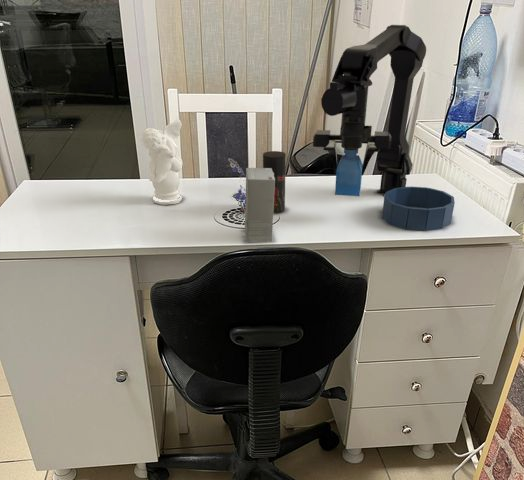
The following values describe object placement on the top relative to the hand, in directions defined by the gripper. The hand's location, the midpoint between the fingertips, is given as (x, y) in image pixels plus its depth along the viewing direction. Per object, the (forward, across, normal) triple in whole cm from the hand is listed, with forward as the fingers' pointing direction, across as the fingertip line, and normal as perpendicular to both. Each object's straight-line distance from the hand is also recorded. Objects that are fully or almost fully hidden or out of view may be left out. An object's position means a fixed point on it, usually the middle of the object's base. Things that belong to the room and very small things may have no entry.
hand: (349, 174), depth 138 cm
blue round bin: (+12, +18, +2) cm, 22 cm away
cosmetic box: (+12, -21, -15) cm, 28 cm away
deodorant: (+12, -20, +4) cm, 23 cm away
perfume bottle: (+5, 0, 0) cm, 5 cm away
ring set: (+12, -31, +13) cm, 35 cm away
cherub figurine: (+12, -52, +10) cm, 54 cm away
